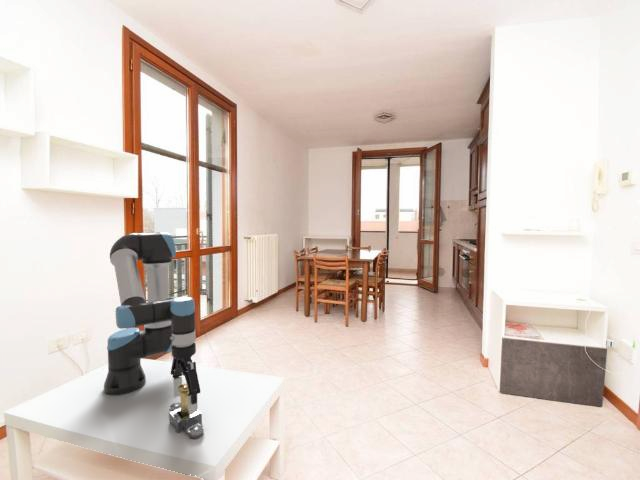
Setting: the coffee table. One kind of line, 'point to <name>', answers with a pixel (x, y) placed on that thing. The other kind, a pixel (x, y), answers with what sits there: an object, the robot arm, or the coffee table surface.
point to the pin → (184, 400)
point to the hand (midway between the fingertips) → (185, 403)
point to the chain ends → (186, 421)
